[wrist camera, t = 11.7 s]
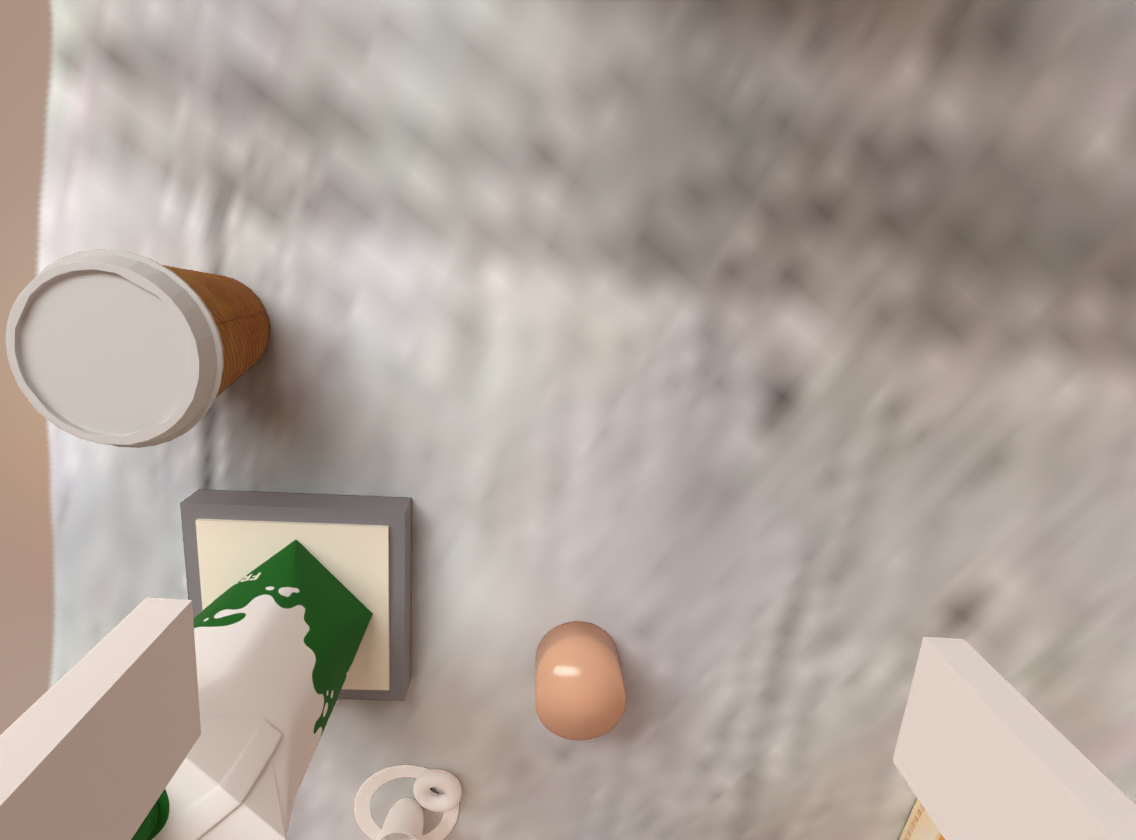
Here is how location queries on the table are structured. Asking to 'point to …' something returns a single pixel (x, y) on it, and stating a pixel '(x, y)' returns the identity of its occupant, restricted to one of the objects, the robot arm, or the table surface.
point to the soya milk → (260, 699)
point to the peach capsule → (578, 681)
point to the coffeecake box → (920, 826)
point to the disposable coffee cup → (130, 345)
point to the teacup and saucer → (411, 804)
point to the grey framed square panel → (337, 540)
